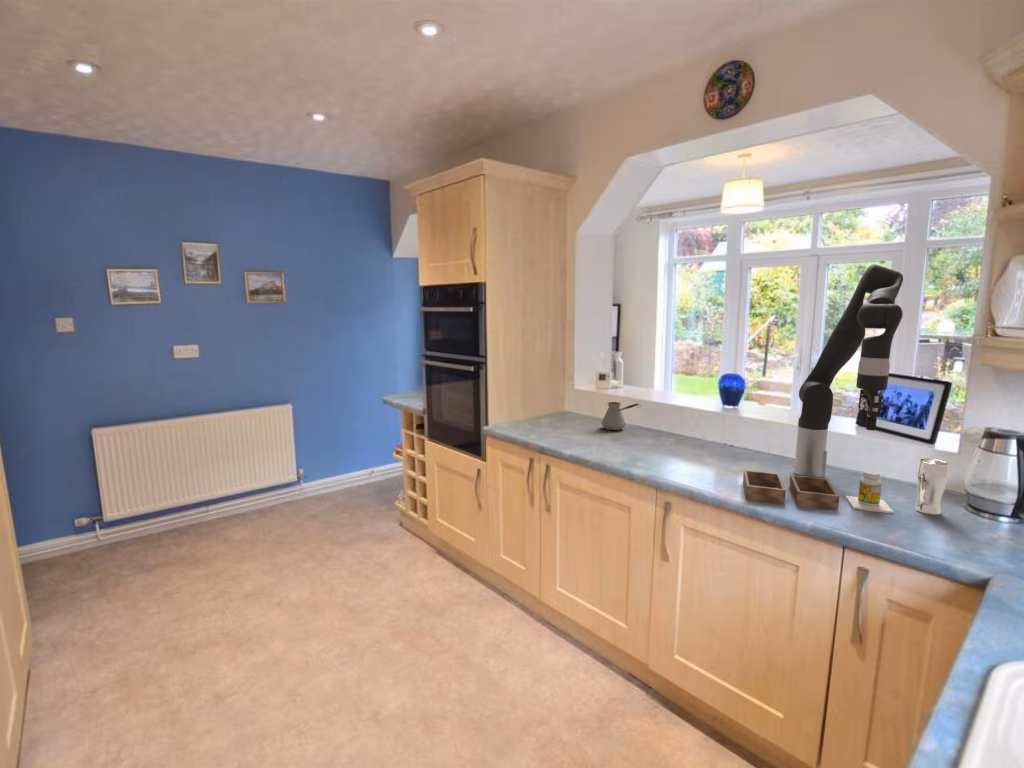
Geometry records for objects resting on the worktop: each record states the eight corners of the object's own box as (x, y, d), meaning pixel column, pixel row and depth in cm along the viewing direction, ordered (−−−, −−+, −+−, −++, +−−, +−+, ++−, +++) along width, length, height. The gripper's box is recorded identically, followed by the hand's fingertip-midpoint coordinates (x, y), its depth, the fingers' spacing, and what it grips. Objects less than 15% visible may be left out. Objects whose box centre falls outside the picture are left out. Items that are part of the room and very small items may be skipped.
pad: (883, 501, 162) (883, 499, 162) (893, 513, 153) (893, 511, 153) (845, 497, 165) (845, 495, 165) (853, 508, 156) (853, 507, 156)
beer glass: (913, 504, 160) (919, 456, 157) (942, 510, 155) (949, 461, 153) (912, 511, 154) (917, 462, 152) (942, 517, 150) (949, 466, 148)
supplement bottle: (883, 506, 156) (887, 475, 155) (865, 506, 157) (868, 475, 155) (871, 500, 162) (874, 469, 160) (853, 499, 162) (857, 469, 160)
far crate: (778, 486, 175) (779, 473, 174) (784, 504, 160) (785, 490, 159) (742, 482, 179) (743, 470, 178) (745, 499, 163) (746, 485, 163)
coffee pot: (596, 428, 257) (597, 398, 255) (612, 425, 264) (613, 395, 262) (629, 437, 240) (631, 405, 238) (646, 433, 247) (647, 402, 245)
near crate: (826, 492, 170) (827, 478, 170) (837, 510, 155) (839, 496, 154) (789, 488, 174) (790, 474, 173) (796, 505, 158) (797, 491, 158)
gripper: (895, 376, 147) (888, 433, 149) (881, 370, 160) (875, 423, 162) (864, 375, 149) (857, 431, 152) (852, 369, 162) (847, 421, 165)
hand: (866, 427), depth 157 cm, fingers open, 8 cm apart
